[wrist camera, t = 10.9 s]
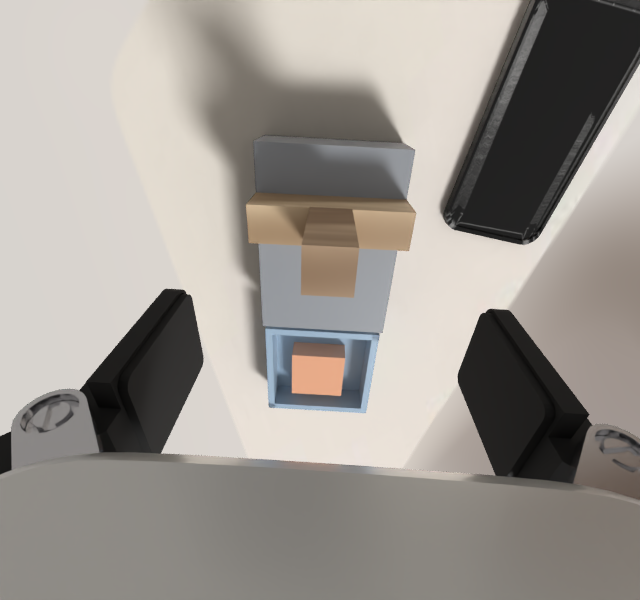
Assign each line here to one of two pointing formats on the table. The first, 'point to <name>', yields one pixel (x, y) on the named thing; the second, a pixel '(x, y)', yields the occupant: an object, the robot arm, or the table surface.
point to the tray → (354, 378)
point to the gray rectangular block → (328, 180)
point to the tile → (317, 368)
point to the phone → (544, 115)
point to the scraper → (329, 233)
